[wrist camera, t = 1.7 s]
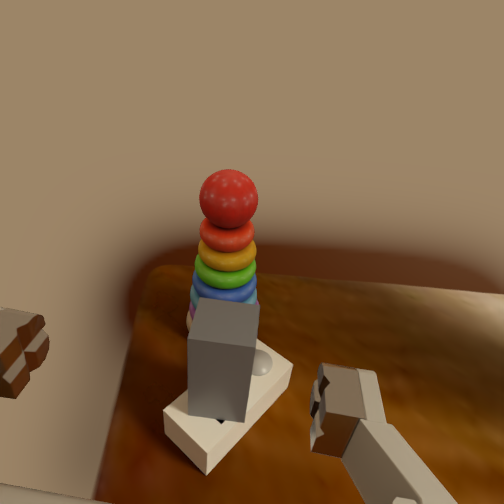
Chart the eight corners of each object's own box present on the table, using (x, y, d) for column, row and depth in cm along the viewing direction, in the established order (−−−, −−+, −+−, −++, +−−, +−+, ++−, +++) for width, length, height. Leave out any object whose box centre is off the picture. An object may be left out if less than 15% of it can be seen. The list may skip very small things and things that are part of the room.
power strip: (248, 357, 39) (252, 333, 37) (287, 387, 37) (293, 363, 35) (164, 433, 32) (162, 408, 30) (206, 475, 30) (207, 452, 28)
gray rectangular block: (242, 437, 31) (255, 347, 25) (188, 430, 31) (187, 338, 25) (247, 394, 34) (260, 305, 28) (198, 388, 35) (199, 297, 28)
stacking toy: (189, 300, 46) (188, 149, 35) (255, 302, 46) (275, 155, 35) (183, 353, 39) (180, 189, 28) (260, 354, 40) (286, 195, 29)
